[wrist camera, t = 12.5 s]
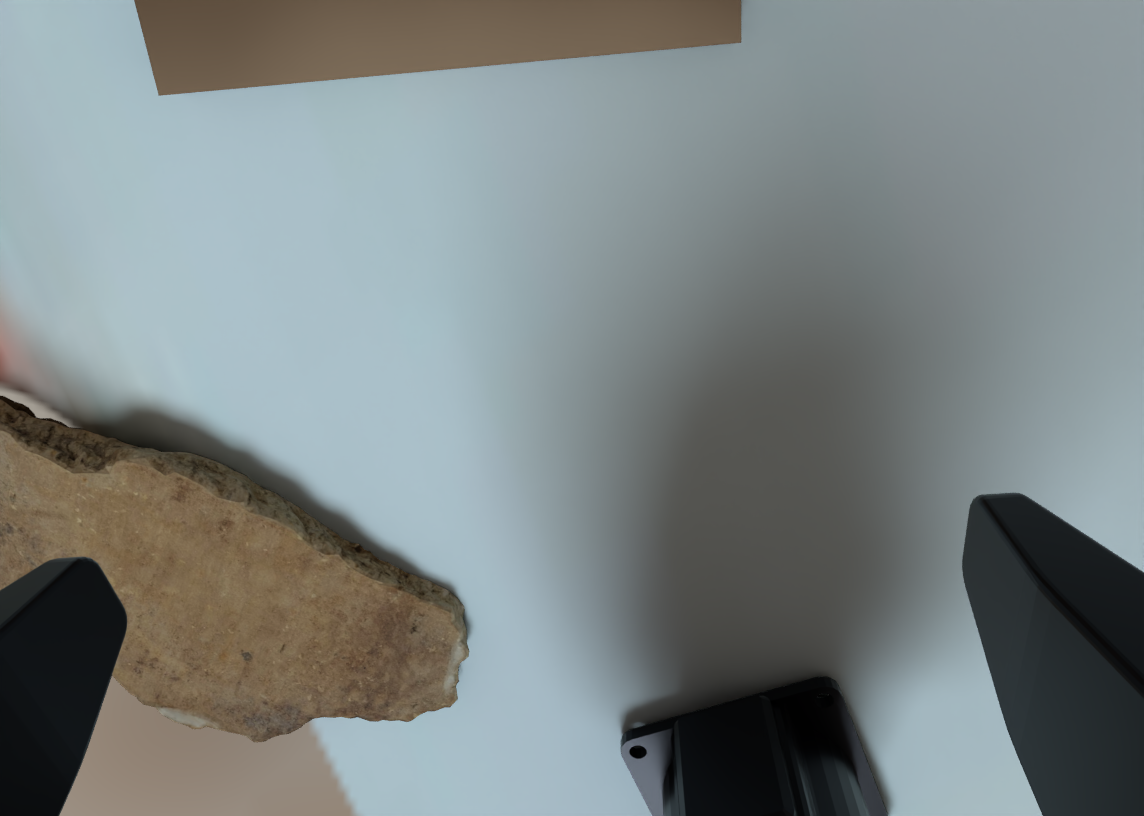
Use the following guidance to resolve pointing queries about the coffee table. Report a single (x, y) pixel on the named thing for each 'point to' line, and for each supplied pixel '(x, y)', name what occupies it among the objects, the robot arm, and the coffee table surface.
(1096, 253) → the coffee table surface
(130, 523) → the pottery shard
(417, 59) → the walnut rack
